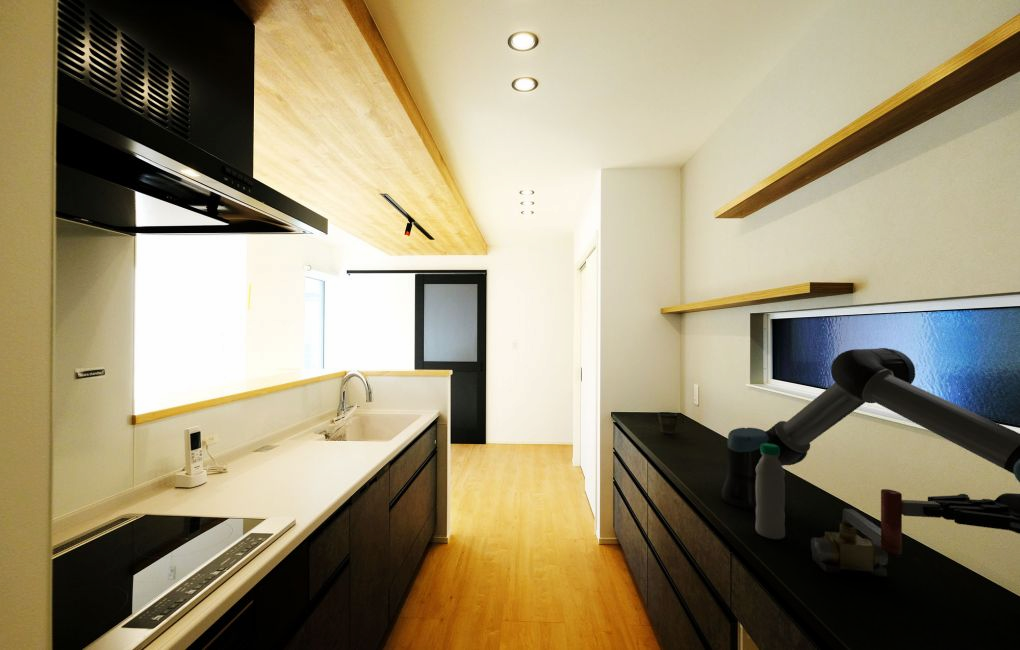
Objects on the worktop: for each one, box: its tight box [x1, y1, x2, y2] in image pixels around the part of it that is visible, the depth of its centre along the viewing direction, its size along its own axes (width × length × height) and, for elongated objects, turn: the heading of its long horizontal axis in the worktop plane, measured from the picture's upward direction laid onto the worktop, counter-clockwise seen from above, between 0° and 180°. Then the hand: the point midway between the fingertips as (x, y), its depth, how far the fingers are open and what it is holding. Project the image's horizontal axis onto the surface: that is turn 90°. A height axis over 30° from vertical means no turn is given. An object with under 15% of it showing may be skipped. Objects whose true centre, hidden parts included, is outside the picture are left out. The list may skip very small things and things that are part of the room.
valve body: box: [810, 522, 889, 578], centre depth 102 cm, size 14×6×10 cm, turn 82°
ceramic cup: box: [657, 411, 683, 434], centre depth 232 cm, size 13×10×10 cm
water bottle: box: [754, 443, 786, 540], centre depth 119 cm, size 7×7×25 cm
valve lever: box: [841, 488, 903, 555], centre depth 95 cm, size 18×3×14 cm, turn 169°
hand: (902, 507), depth 87 cm, fingers closed
